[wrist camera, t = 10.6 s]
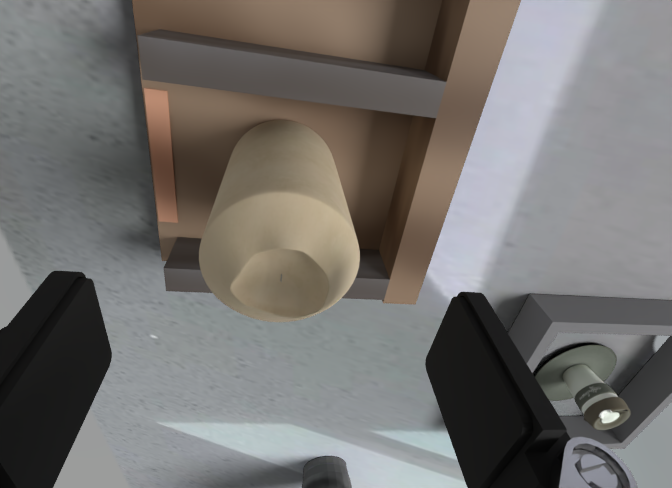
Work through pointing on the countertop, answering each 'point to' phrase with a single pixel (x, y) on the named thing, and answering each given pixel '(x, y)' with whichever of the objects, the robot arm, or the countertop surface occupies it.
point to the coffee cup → (585, 384)
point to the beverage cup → (326, 473)
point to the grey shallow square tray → (603, 318)
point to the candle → (280, 227)
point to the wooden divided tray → (320, 113)
